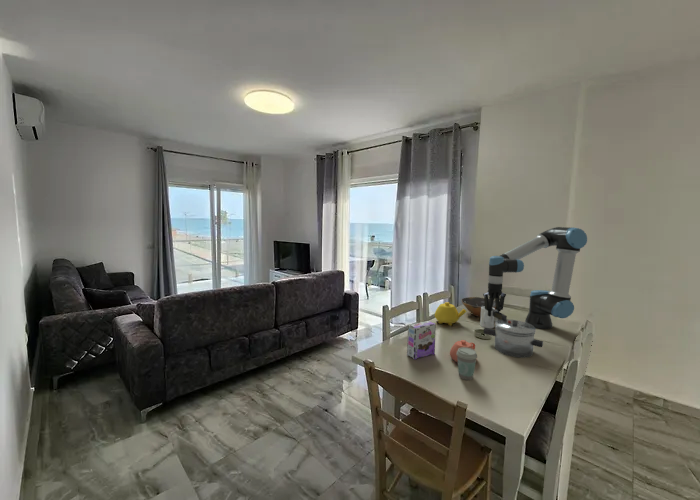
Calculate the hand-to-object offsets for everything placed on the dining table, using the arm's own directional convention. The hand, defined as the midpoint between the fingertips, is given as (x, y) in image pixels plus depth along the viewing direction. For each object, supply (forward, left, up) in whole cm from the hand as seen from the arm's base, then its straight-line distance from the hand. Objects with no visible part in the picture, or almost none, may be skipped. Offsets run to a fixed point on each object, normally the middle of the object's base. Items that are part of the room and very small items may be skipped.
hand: (493, 321), depth 180 cm
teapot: (+10, -26, -9) cm, 30 cm away
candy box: (+54, +8, -9) cm, 56 cm away
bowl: (-21, -33, -9) cm, 40 cm away
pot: (+4, +19, -9) cm, 21 cm away
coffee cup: (+47, +33, -9) cm, 58 cm away
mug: (-8, -13, -9) cm, 18 cm away
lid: (+3, +12, +3) cm, 13 cm away
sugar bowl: (+37, +20, -9) cm, 43 cm away
